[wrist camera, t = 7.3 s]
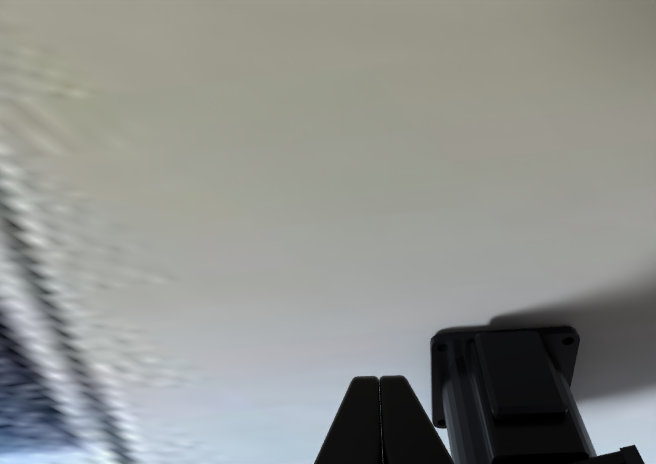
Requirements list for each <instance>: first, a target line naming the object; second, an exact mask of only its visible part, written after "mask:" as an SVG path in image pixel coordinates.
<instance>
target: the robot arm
mask: <svg viewBox="0 0 656 464" xmlns="http://www.w3.org/2000/svg"><path fill="white" fill-rule="evenodd" d="M566 337H568V338H566ZM564 338H565V339H564ZM579 342H580V338H579V335H578V333H577V331H576V330H575V329H574V328H572V327H567V326H566V327H549V328H531V329H513V330H496V331H478V332H460V333H443V334H437V335H435V336H433V337H432V338H431V341H430V353H431V406H432V422H433V424H432V423H431V421H430V419H429V417H428V416H427V414H426V412H425V410H424V409H423V407H422V405H421V403H420V402H419V400H418V398H417V396H416V395H415V393H414V391H413V389H412V388H411V386H410V384H409V382H408V381H407V379H406V378H405V377H404V376H401V375H395V376H382V377H381V378H380V379H378V378H377V377H375V376H357V377H355V378H353V380H352V381H351V383H350V385H349V387H348V390H347V392H346V394H345V396H344V398H343V401H342V403H341V405H340V407H339V409H338V412H337V414H336V416H335V418H334V421H333V423H332V425H331V427H330V429H329V432H328V434H327V436H326V438H325V440H324V443H323V445H322V447H321V449H320V452H319V454H318V456H317V458H316V460H315V463H314V464H645V463H644V461H643V460H642V458H641V456H640V454H639V452H638V450H637V448H636V446H635V445H632V446H627V447H623V448H620V451H618V452H613V453H609V454H604V455H600V456H597V454H596V452H595V449H594V447H593V444H592V442H591V440H590V437H589V435H588V432H587V430H586V427H585V425H584V422H583V420H582V417H581V415H580V413H579V410H578V408H577V405H576V403H575V400H574V398H573V395H572V393H571V390H570V386H571V381H572V376H573V371H574V366H575V361H576V356H577V351H578V346H579ZM440 344H444V345H440ZM379 386H380V393H379ZM380 408H381V413H380ZM433 425H434V426H435V427H437V428H442V429H443V428H447V432H448V438H449V444H450V450H451V456H452V458H451V456H450V454H449V453H448V451H447V449H446V447H445V445H444V444H443V442H442V440H441V438H440V437H439V435H438V433H437V431H436V430H435V428H434V426H433ZM381 428H382V434H381ZM382 449H383V455H382Z"/></svg>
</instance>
